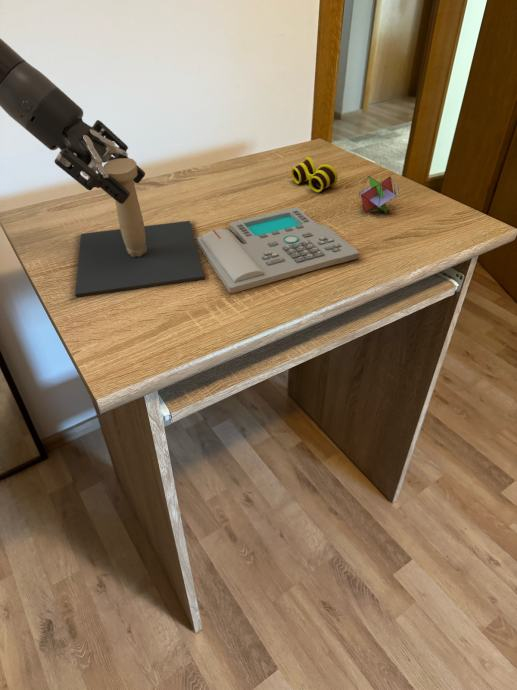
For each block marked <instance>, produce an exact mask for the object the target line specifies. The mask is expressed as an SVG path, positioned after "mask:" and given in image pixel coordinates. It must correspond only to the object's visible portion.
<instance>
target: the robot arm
mask: <svg viewBox="0 0 517 690" xmlns="http://www.w3.org/2000/svg"><path fill="white" fill-rule="evenodd" d="M0 107H1V109H2V110H4V112H5V113H6V114H7V115H8V116H9V117H10V118H12V119H13V120H14V121H15V122H16V123H17V124H19V125H20V126H21V127H22V128H24V129H25V130H26V131H27V133H29V134H30V135H32V136H33V137H34V138H35V139H37V141H39V142H40V143H41V144H42V145H44V146H45V147H46V148H47V149H49V150H50V151H56V150H58V149H59V150H60V151H59V152H58V154H57V156H56V158H55V159H54V160H53V161H54V164H55V165H56V166H57V167H59V168H60V169H61V170H62V171H63V172H65V173H66V174H67V175H69V176H70V177H71V178H72V179H73V180H75V181H76V182H77V183H78V184H80V186H82V187H83V188H85V189H86V190H87V191H92V190H93V189H94V188H96V189H101V190H103V191H104V192H105V193H107V194H108V195H109V196H110V197H111V198H112V199H113V200H114V201H115V200H116V201H118V202H119V203H120V204H123V203H124V202H125V201H126V200H127V198H128V197H129V196H130V192H129V191H128V190H126V189H125V188H124V187H123V186H122V185H121V184H120V183H118V182H117V181H116V180H115V179H114V178H113V177H111V176H110V177H109V178H108V174H107V172H106V171H105V169H104V165H103V164H106V163H107V162H109V161H111V160H113V159H119V158H129V156H128V155H129V154H128V152H127V150H129V146H128V145H127V144H126V143H125V142H124V141H123V140H122V139H121V138H120V137H119V136H117V134H115V133H114V132H113V131H112V130H111V129H110V128H109V127H107V126H106V124H104V123H103V121H101V120H99V119H97V120H96V121H95V122H94V123H93V125H92V126H91V125H90V124H87V123H86V122H84V121H83V117H84V110H83V108H82V107H80V106H79V105H78V104H77V103H76V102H75V101H74V100H73V99H71V98H70V97H69V96H68V95H67V94H66V93H65V92H64V91H63V90H62V89H61V88H59V87H58V86H57V85H56V84H55V83H53V82H52V81H51V79H49V78H48V77H47V76H46V75H45V74H44V73H43V72H41V71H40V70H38V69H37V68H35V67H34V66H33V65H31V64H30V63H29V62H28V61H27V60H25V58H23V57H22V56H21V55H20V54H19V53H17V51H15V49H13V48H12V47H11V46H10V45H9V44H8V43H6V42H5V41H4V40H3V39H2V38H0ZM137 170H138V172H137V177H135V178H134V184H139V183H140V182H141V181H142V180H143V179H144V178H145V176H146V172H145V171H144V170H143V169H142V168H141V167H140V166H139V165H137ZM81 173H82V174H81ZM86 177H87V178H88V179H87V178H86ZM116 201H115V202H116Z"/></svg>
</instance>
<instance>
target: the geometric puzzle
mask: <svg viewBox="0 0 517 690" xmlns="http://www.w3.org/2000/svg"><path fill="white" fill-rule="evenodd" d="M367 181H369V186H368V187H367V188H365V187H362V188H363V189H362V191H360V192H358V195H359V198H360V201H361V205H362V208H363V211H364V213H365V214H367V213H369V214H370V213H373V212H371V211H373V210H375V209H380V210H381V211H383V213H385V214H388V211H389V209H387V207H386V204H387V203H388V202H390V203H389V205H388V207H391V206H390V205H391V204H392V200H393V199H395V198H397V197H399V193H400V189H399V185H398V183H396V182H395V180H394V179H393V178H392V176H388V177H386V178H384V179H381V180H379V181H378V180H376V179H374V178H373V177H372V176H370V175H367V178H366V179H365V181H364V185H366V184H367ZM364 188H365V189H364ZM374 207H375V208H374Z"/></svg>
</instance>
